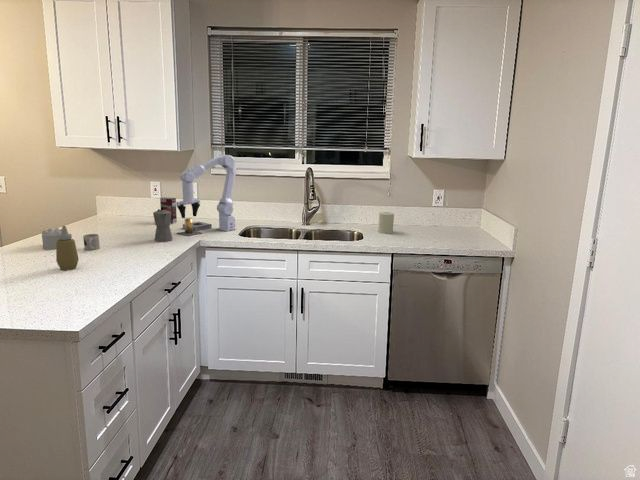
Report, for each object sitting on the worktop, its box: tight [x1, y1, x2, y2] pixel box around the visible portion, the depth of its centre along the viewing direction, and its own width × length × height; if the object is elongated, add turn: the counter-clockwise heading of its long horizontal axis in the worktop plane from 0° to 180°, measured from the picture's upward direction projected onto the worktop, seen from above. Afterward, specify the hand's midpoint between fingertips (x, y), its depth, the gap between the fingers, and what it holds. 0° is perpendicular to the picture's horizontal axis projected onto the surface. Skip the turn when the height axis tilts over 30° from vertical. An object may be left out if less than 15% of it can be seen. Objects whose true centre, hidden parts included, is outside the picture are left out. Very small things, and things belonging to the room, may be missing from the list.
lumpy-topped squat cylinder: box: [41, 227, 62, 251], centre depth 219 cm, size 10×13×9 cm
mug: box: [82, 233, 101, 251], centre depth 216 cm, size 10×7×7 cm, turn 21°
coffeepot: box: [152, 206, 173, 243], centre depth 238 cm, size 15×9×18 cm, turn 33°
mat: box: [176, 230, 203, 237], centre depth 256 cm, size 10×10×1 cm
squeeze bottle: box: [55, 225, 80, 271], centre depth 184 cm, size 8×8×18 cm
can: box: [377, 211, 395, 235], centre depth 273 cm, size 9×9×12 cm
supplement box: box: [159, 196, 178, 225], centre depth 283 cm, size 9×5×16 cm, turn 73°
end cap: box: [184, 217, 194, 234], centre depth 255 cm, size 4×4×8 cm
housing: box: [182, 221, 213, 232], centre depth 270 cm, size 12×12×2 cm
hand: (189, 217), depth 254 cm, fingers open, 7 cm apart
